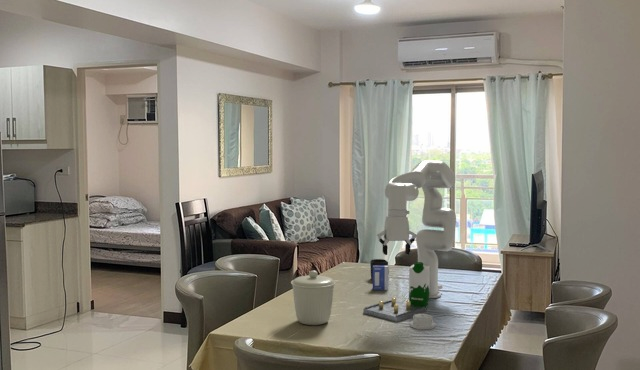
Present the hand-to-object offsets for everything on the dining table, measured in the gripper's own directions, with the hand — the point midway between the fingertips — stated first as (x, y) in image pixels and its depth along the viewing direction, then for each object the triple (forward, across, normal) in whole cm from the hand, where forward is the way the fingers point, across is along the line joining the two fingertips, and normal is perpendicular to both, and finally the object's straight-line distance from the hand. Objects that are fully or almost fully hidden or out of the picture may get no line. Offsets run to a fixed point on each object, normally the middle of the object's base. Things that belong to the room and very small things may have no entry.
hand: (396, 254), depth 262 cm
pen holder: (+24, -14, -68) cm, 74 cm away
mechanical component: (+27, -6, +17) cm, 32 cm away
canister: (+27, +36, +2) cm, 45 cm away
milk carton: (+26, -15, -11) cm, 32 cm away
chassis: (+26, -1, -4) cm, 26 cm away
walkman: (+25, -8, -46) cm, 53 cm away
